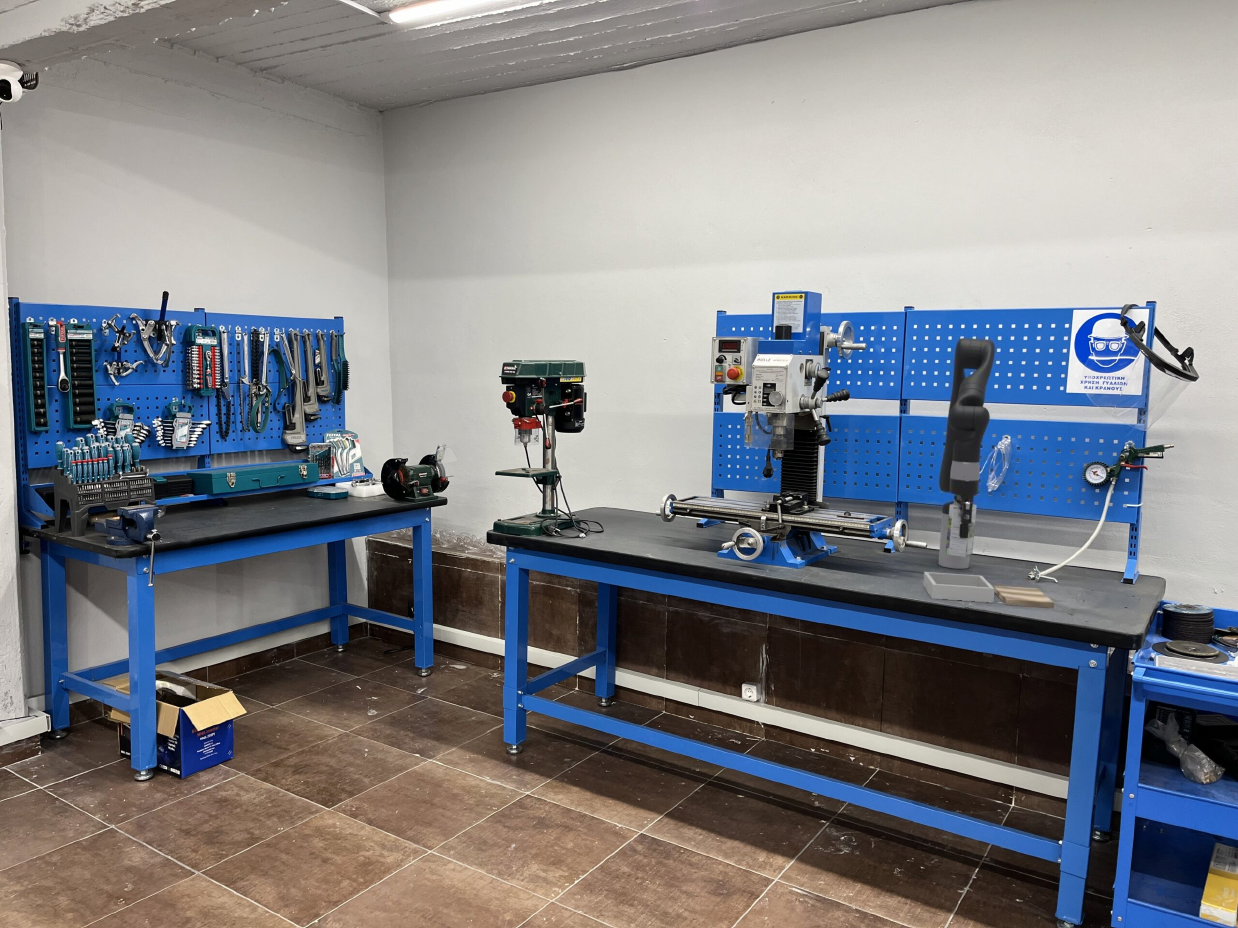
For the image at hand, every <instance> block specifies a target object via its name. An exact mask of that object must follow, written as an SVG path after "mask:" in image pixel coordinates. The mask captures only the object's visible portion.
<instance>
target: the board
mask: <svg viewBox="0 0 1238 928" xmlns="http://www.w3.org/2000/svg"><path fill="white" fill-rule="evenodd" d="M992 587H993V588H994V589H995V590H994V592H995V593H996V594H997V595H998V596H999V597H998V596H997V595H996V594H995V593H994V594H995V595H996V596H997V597H998V599H1000V600H1001V601H1002V602H1003V603H1004V604H1005V605H1006V606H1016V605H1017V607H1031V608H1032V607H1034V608H1049V609H1054V607H1055V602H1054V601H1053V600H1052V599H1050V598H1049V596H1047V595H1046V594H1045V593H1044V592H1042V591H1041V589H1039V588H1036V587H1019V586H1004V585H992Z"/></svg>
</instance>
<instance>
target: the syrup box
mask: <svg viewBox="0 0 1238 928" xmlns="http://www.w3.org/2000/svg"><path fill="white" fill-rule="evenodd" d="M959 506H960V505H959ZM977 506H978V505H977V504H974V503H973V506H972V523H971V524H970V525H969V529H968V538H960V537H959V530H960V518H959V517H958V514H957V512H958V507H957V504H956V503H954V504H951V505H950V508H949V520H948V531H947V542H946V554H948V555H954V556H961V557H967V556H969V555H970V556H971V555H973V549H974V540H975V539H974V538H975V527H976V517H977ZM960 512H961V513H962V511H961V510H960ZM964 519H967V517H964Z"/></svg>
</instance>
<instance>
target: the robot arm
mask: <svg viewBox="0 0 1238 928" xmlns="http://www.w3.org/2000/svg"><path fill="white" fill-rule="evenodd" d="M995 356H996V347H995V343H994V341H993V340H991V339H985V338H983V339H981V338H969V337H962V338H961V337H960V339H958V340H957V343H956V345H955V351H954V361H953V374H952V375H953V377H952V378H953V379H952V389H951V394H950V395H951V396H950V401H949V402H950V403H949V406H948V407H949V408H948V415H947V423H946V433H945V444H944V450H943V455H942V460H941V466H940V470H939V476H938V486H939V489H940V491H941V492H943V493H950V494H951V495H953V501H948V502H946V503H943V504H942V506H941V507H942V508H941V524H940V536H939V537H940V538H939V553H938V565H939V566H940V567H943V568H949V569H962V570H963V569H964V570H965V569H968V568H969V567H970V557H971V555H969V556H967V557H961V556H954V555H948V554H946V542H947V531H948V520H949V508H950V505H951V504H954V503H956V504H957V507H958V512H957V514H958V517H959V518H960V530H959V537H960V538H968V529H969V525H970V524H971V523H972V506H973V504H974V499H975V496H978V494H979V488H980V487H979V485H980V473H981V472H980V471H981V470H980V469H981V468H980V459H981V447H982V442H983V439H984V435H985V433H986V431H987V428H988V426H989V423H990V417H991V414H990V412H989V409H988V408H986V407H984V405H985V398H986V389H987V385H988V382H989V378H990V375H991V373H992V369H993V366H994V361H995ZM965 370H975V371H973V372H972V373H971V374H969V375H967V376H966V371H965ZM959 505H960V506H959ZM960 510H961V511H962V513H961V512H960ZM964 517H967V519H964Z"/></svg>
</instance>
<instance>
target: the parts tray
mask: <svg viewBox="0 0 1238 928" xmlns="http://www.w3.org/2000/svg"><path fill="white" fill-rule="evenodd" d="M922 584H923V587H924V589H925V590H926V592H927V593H928V595H929V596H930V598H931V599H932V600H942V599H948V600H947V601H957V600H962V601H961V602H971V601H975V602H974V603H986V602H989V603H988V604H990V603H991V604H994V601H995V600H994V599H995V593H994V590H995V589H994V588H993V585H992V584H991V583H990V582H988V580H986V578H985V577H984V576H983V575H978V574H977V575H976V574H961V573H960V574H959V573H946V572H934V571H933V572H932V571H930V572H929V571H924V572H923V583H922Z"/></svg>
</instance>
